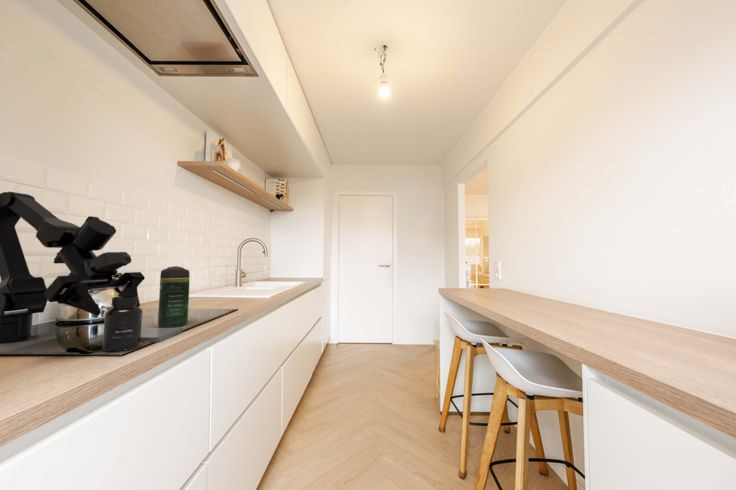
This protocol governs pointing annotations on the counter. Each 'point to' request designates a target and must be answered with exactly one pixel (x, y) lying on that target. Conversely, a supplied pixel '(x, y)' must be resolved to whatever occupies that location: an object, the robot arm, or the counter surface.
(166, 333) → the coaster
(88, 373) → the counter surface
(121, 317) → the supplement bottle
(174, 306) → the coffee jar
